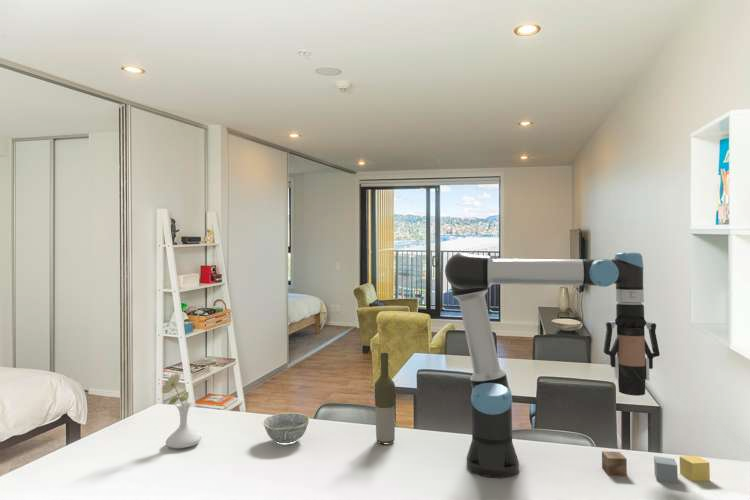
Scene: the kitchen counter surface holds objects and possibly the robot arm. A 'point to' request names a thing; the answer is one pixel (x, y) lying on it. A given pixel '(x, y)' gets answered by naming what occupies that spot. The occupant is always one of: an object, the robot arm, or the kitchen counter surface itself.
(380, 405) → the bottle
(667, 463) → the slate grey cube
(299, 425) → the bowl
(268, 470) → the kitchen counter surface
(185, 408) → the flower in vase
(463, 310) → the robot arm
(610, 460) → the walnut cube
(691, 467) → the mustard cube
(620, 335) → the travel mug
